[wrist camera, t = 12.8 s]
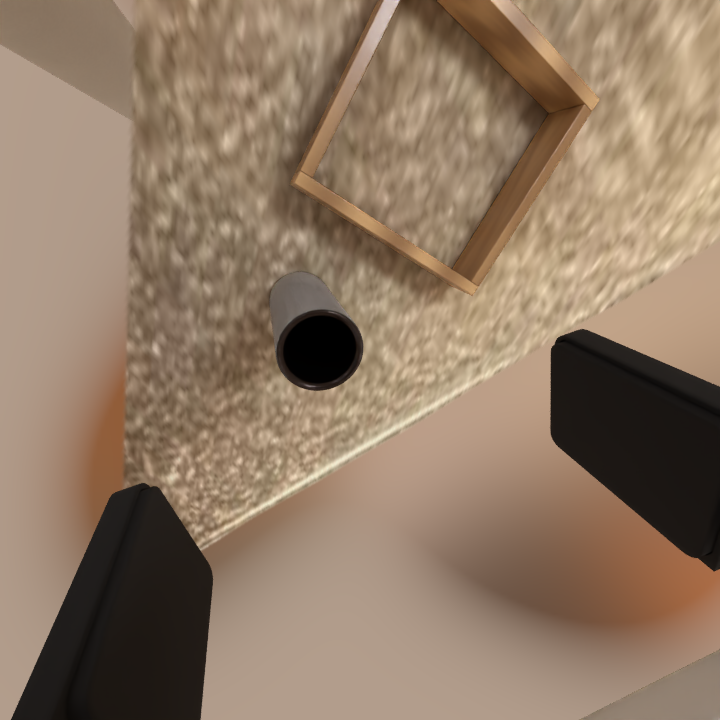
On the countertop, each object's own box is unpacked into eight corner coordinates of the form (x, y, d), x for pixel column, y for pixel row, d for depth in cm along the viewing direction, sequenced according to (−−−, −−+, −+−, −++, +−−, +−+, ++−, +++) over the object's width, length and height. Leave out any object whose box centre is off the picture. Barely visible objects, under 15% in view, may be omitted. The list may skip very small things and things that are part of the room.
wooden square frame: (289, 184, 26) (293, 183, 22) (404, -54, 22) (428, -94, 19) (451, 286, 31) (472, 296, 28) (562, 109, 28) (600, 99, 25)
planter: (302, 341, 30) (323, 406, 21) (256, 304, 28) (256, 358, 19) (342, 298, 29) (381, 346, 20) (297, 257, 27) (318, 290, 18)
